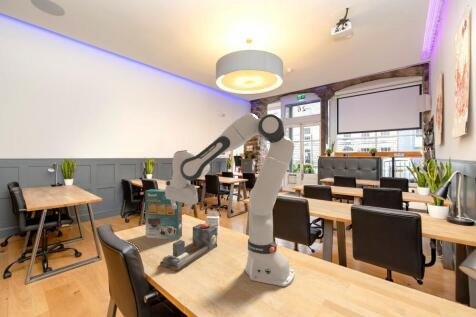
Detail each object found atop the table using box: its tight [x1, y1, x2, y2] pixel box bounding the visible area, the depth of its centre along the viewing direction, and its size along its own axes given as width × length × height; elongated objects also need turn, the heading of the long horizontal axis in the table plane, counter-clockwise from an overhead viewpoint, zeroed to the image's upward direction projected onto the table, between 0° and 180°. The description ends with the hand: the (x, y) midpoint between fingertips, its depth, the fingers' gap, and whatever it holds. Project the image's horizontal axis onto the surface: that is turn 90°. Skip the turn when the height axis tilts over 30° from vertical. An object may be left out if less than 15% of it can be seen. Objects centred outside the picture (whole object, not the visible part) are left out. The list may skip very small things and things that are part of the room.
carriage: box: [168, 239, 188, 262], centre depth 108 cm, size 7×6×8 cm
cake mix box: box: [144, 188, 183, 241], centre depth 140 cm, size 22×6×30 cm, turn 82°
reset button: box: [200, 222, 208, 228], centre depth 126 cm, size 4×4×2 cm
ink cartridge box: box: [205, 210, 220, 236], centre depth 146 cm, size 9×5×15 cm, turn 84°
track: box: [159, 223, 218, 273], centre depth 116 cm, size 12×31×12 cm, turn 150°
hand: (180, 210), depth 109 cm, fingers open, 8 cm apart
